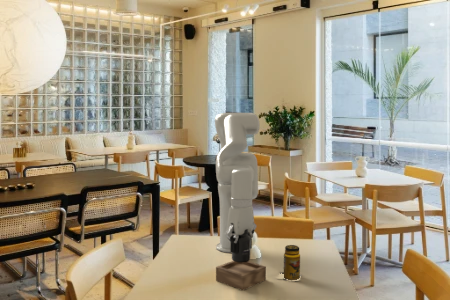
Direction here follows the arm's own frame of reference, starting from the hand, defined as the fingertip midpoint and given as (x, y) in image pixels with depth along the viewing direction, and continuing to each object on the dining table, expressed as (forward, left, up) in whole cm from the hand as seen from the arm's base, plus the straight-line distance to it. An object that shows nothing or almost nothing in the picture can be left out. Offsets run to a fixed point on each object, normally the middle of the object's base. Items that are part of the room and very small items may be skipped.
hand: (241, 250), depth 180 cm
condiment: (-15, +11, -12) cm, 22 cm away
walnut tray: (0, 0, -12) cm, 12 cm away
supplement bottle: (0, 0, -4) cm, 4 cm away
